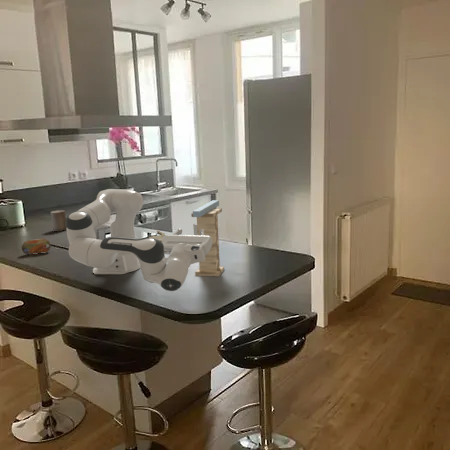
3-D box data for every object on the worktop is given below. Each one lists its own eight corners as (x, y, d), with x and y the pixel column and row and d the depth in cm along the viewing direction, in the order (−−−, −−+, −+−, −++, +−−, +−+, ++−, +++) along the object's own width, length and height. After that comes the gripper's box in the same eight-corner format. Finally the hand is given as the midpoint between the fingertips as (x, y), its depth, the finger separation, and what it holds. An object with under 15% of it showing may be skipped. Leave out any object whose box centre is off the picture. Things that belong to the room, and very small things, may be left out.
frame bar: (199, 217, 195) (199, 211, 194) (193, 217, 195) (192, 211, 195) (219, 205, 223) (218, 200, 222) (213, 205, 224) (212, 200, 223)
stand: (217, 277, 207) (214, 213, 201) (193, 276, 210) (190, 213, 204) (225, 268, 220) (222, 208, 214) (203, 267, 223) (200, 208, 217)
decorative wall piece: (192, 238, 288) (159, 233, 306) (192, 234, 287) (158, 228, 306) (156, 249, 265) (122, 242, 283) (156, 244, 264) (122, 237, 283)
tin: (22, 256, 259) (20, 241, 258) (23, 254, 262) (21, 240, 261) (51, 252, 264) (49, 238, 262) (51, 251, 267) (49, 237, 265)
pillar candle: (70, 229, 329) (67, 208, 326) (62, 231, 320) (59, 210, 317) (57, 229, 331) (55, 208, 328) (49, 232, 322) (47, 210, 319)
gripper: (159, 259, 183) (169, 235, 193) (208, 261, 178) (216, 236, 188) (154, 247, 179) (165, 224, 189) (205, 249, 174) (213, 224, 184)
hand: (191, 230), depth 189 cm, fingers open, 8 cm apart
